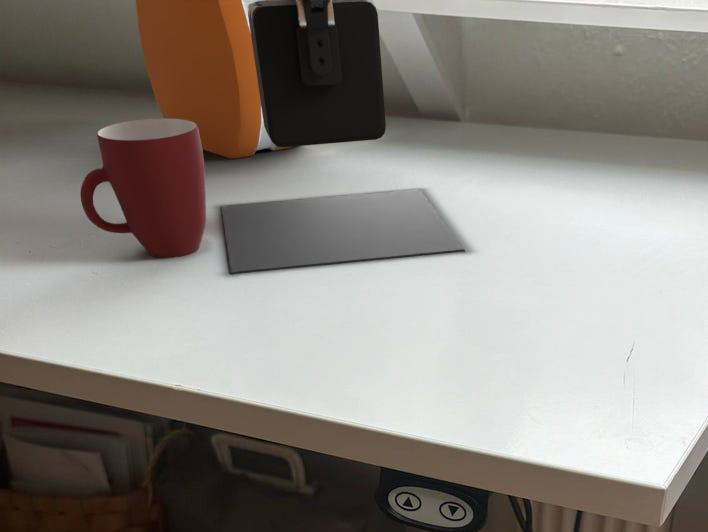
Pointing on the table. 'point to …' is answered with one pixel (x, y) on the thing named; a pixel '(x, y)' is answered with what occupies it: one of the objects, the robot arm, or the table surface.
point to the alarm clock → (205, 70)
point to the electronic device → (323, 100)
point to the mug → (153, 183)
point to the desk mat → (334, 231)
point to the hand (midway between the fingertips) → (318, 76)
